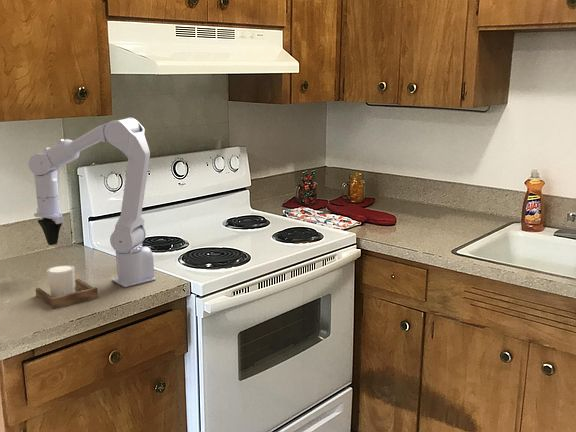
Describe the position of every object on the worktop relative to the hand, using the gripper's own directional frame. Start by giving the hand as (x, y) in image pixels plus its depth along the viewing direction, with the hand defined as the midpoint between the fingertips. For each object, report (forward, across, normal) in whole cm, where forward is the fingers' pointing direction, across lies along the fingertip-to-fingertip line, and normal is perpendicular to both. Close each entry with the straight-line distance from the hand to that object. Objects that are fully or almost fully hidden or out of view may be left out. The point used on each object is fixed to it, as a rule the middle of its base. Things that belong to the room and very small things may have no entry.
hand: (52, 244), depth 174 cm
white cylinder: (+10, +16, -4) cm, 19 cm away
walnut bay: (+9, +17, -4) cm, 20 cm away
